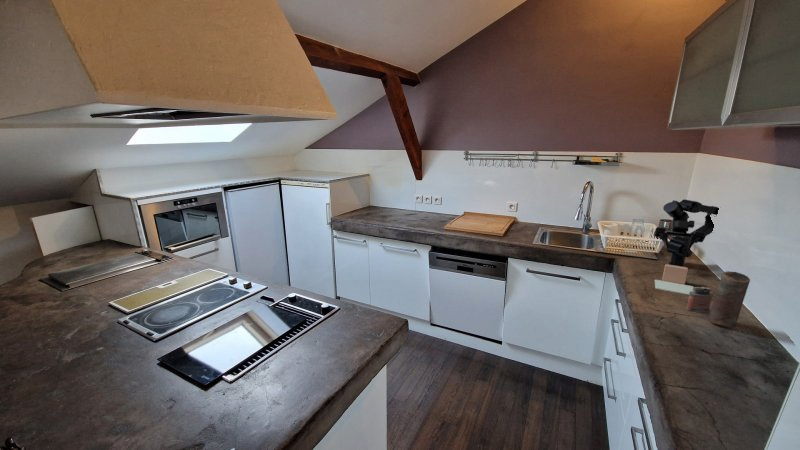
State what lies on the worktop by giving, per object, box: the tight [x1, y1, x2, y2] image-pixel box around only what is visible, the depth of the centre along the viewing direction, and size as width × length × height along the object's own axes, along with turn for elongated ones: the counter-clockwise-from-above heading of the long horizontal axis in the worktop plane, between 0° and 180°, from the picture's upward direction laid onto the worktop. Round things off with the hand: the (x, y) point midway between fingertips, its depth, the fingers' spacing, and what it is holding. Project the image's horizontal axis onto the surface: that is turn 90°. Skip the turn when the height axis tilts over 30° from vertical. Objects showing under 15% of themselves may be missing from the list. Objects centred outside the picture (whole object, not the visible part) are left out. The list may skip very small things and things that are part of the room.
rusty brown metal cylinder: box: [707, 270, 751, 328], centre depth 119 cm, size 8×7×20 cm
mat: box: [654, 279, 694, 296], centre depth 149 cm, size 10×14×1 cm
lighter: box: [685, 286, 714, 313], centre depth 130 cm, size 8×3×10 cm, turn 84°
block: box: [661, 263, 689, 285], centre depth 153 cm, size 2×8×8 cm, turn 55°
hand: (677, 249), depth 157 cm, fingers open, 8 cm apart
